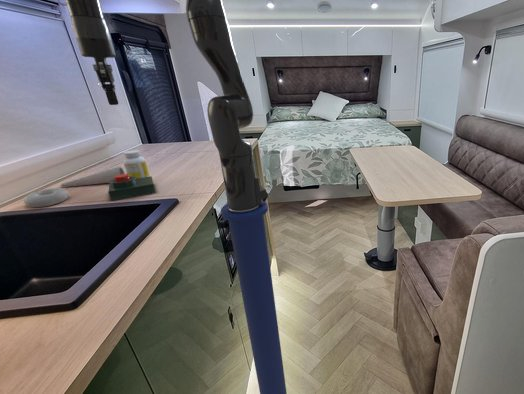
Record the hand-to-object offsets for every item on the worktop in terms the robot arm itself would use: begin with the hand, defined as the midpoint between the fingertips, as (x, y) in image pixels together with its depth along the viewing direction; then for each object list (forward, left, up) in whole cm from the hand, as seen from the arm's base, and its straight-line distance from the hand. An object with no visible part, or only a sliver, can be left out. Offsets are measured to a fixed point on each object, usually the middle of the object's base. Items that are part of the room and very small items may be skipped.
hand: (114, 104), depth 85 cm
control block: (+2, -5, -29) cm, 29 cm away
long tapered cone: (+14, -22, -29) cm, 39 cm away
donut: (+24, -10, -29) cm, 39 cm away
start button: (+4, -5, -24) cm, 25 cm away
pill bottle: (0, -16, -29) cm, 33 cm away
